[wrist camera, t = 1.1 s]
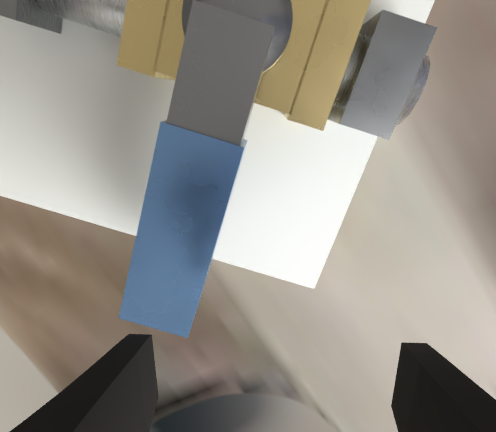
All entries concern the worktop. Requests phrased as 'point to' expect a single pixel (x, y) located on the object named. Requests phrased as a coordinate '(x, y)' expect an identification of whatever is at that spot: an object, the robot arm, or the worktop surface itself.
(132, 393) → the robot arm
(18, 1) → the valve
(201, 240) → the lever
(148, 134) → the board
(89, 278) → the worktop surface
